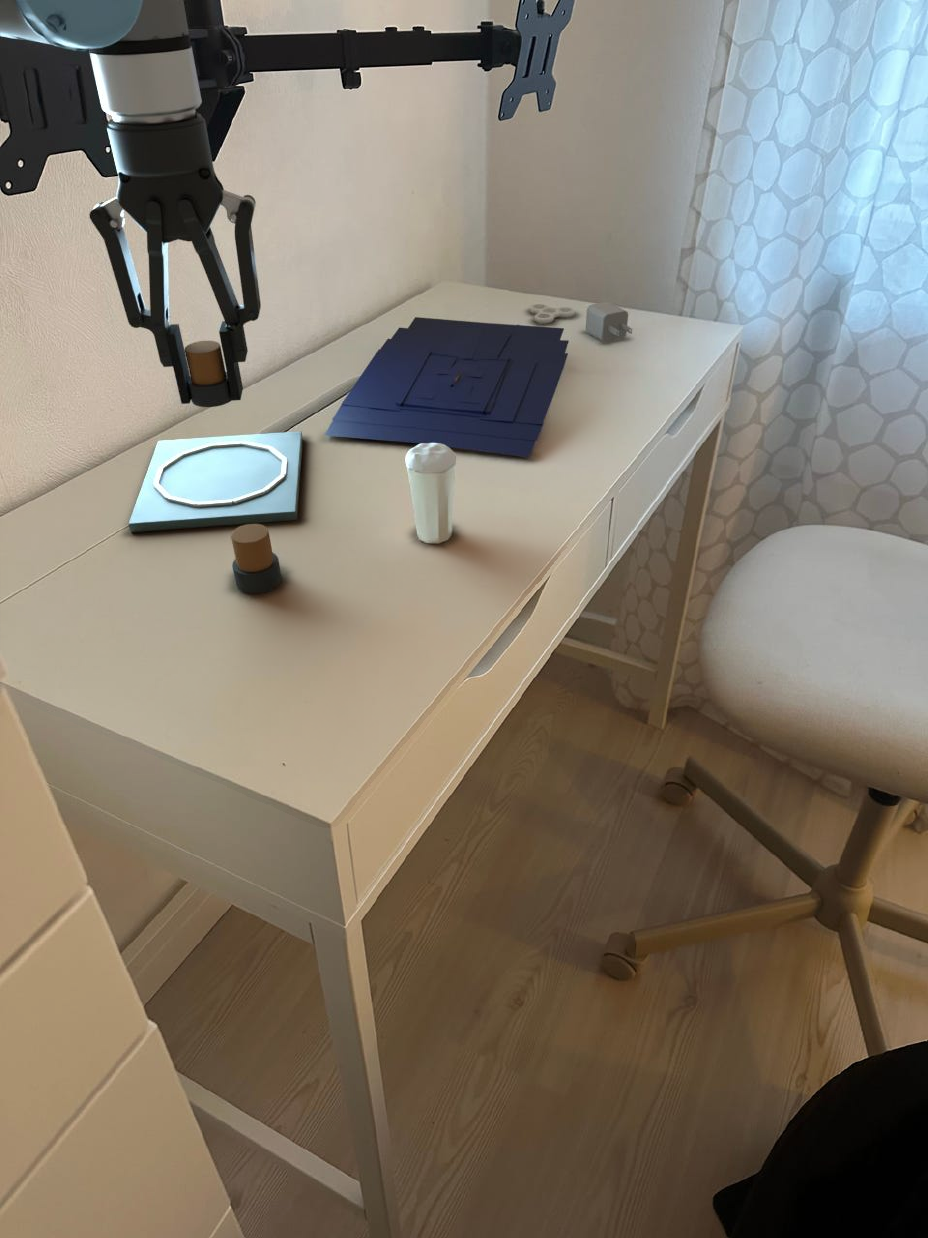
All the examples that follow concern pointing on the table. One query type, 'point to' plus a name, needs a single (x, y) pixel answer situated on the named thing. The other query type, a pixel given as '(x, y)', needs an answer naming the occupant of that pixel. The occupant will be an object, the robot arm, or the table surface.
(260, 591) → the stamp
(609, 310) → the usb wall charger
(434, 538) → the milkshake
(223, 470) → the slate board
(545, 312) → the fidget spinner
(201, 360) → the stamp
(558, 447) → the table surface
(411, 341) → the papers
